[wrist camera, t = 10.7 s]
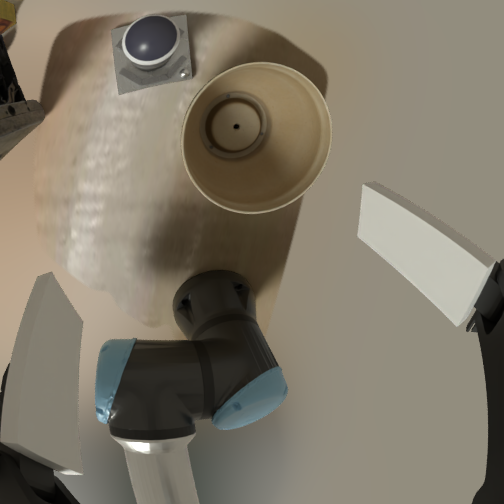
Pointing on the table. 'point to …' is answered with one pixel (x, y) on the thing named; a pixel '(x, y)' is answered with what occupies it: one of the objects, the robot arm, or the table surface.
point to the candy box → (6, 16)
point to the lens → (151, 41)
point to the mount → (171, 72)
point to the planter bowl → (256, 137)
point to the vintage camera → (14, 107)
